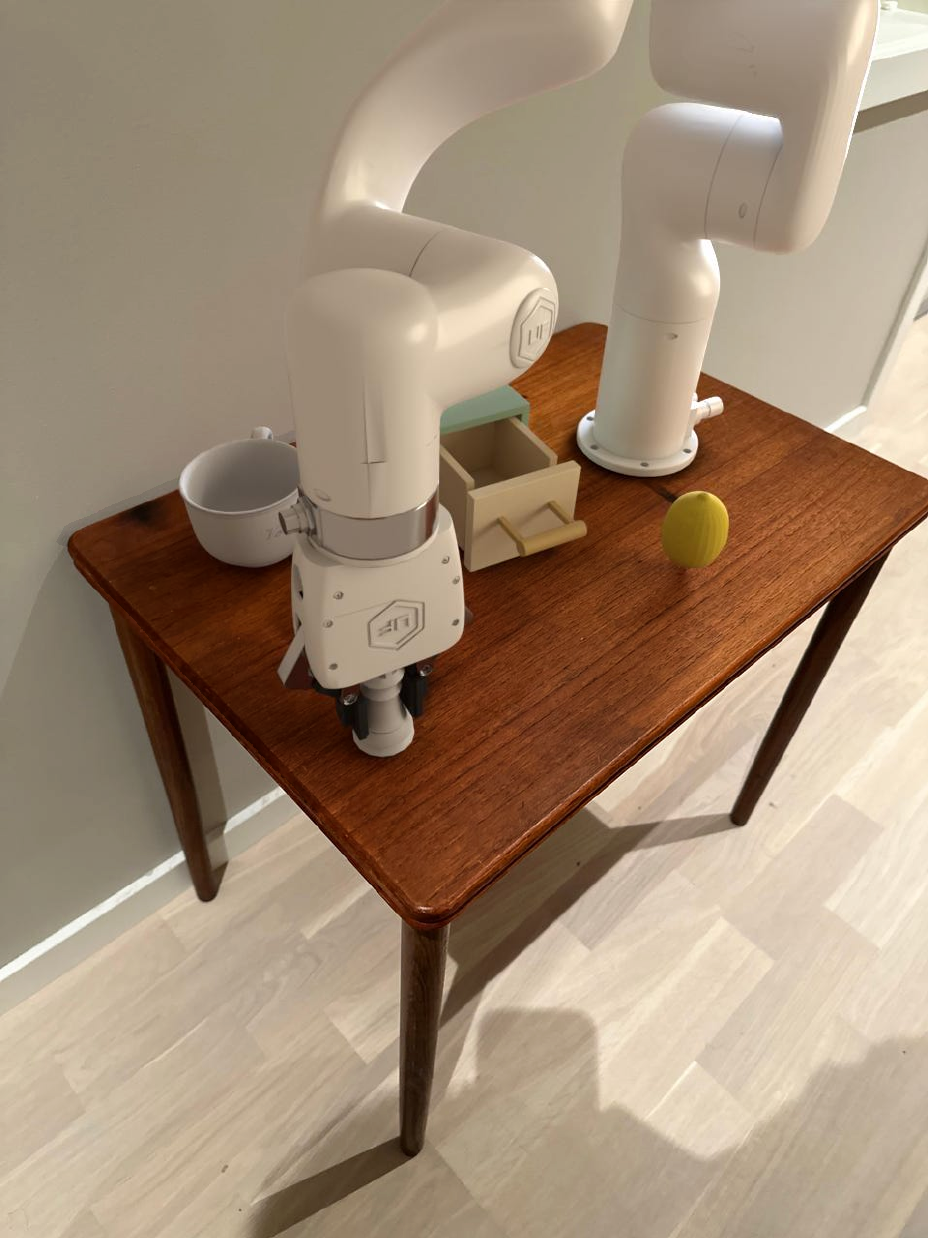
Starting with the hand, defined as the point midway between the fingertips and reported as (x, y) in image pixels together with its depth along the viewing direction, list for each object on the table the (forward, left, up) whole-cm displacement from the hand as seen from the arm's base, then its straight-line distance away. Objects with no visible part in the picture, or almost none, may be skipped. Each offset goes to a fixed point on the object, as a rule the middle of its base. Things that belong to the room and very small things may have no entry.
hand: (382, 712), depth 61 cm
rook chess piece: (0, 0, -3) cm, 3 cm away
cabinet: (-19, -28, -3) cm, 34 cm away
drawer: (-19, -16, -2) cm, 25 cm away
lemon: (-32, -5, -3) cm, 33 cm away
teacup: (0, -26, -3) cm, 26 cm away
